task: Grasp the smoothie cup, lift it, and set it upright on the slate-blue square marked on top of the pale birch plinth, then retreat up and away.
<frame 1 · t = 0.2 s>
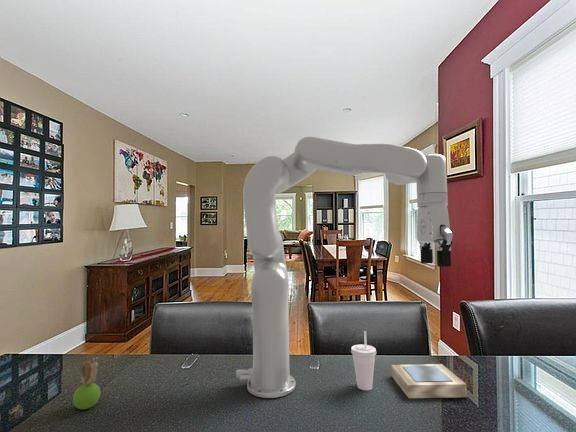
hand: (435, 264, 84), 31 cm above the counter, tool pointing down, fingers open, 9 cm apart
plinth: (426, 385, 81), on the counter
smoothie: (364, 387, 81), on the counter
snail figurine: (87, 409, 72), on the counter
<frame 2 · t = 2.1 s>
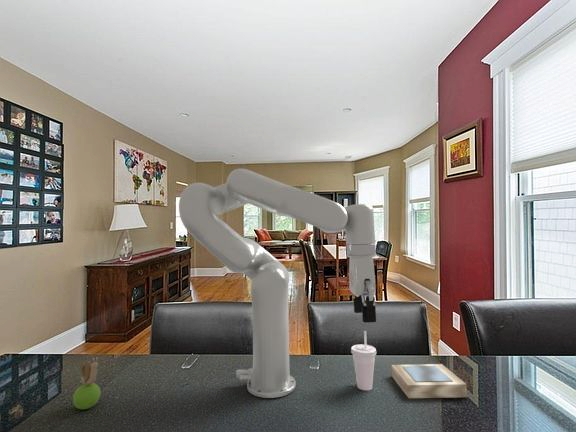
hand: (364, 317, 82), 18 cm above the counter, tool pointing down, fingers open, 9 cm apart
nothing on the counter moved.
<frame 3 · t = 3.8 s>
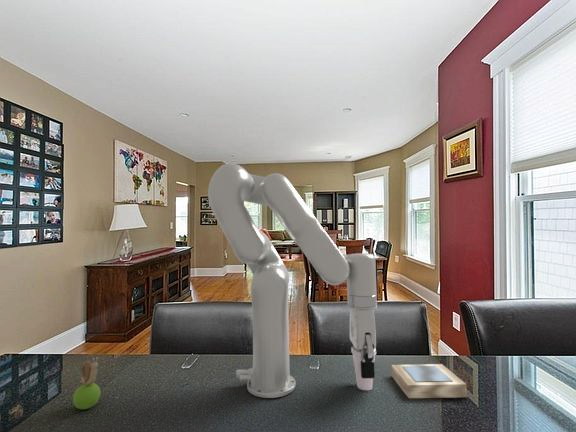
hand: (364, 371, 81), 4 cm above the counter, tool pointing down, fingers closed on smoothie, 6 cm apart
smoothie: (364, 387, 81), on the counter, touching gripper
everything else where it was.
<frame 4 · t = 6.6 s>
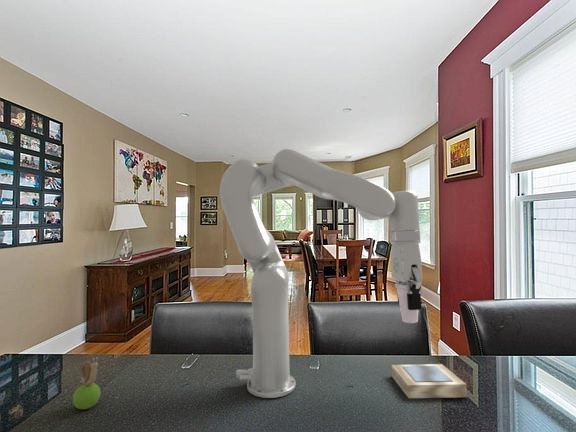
hand: (409, 305, 82), 20 cm above the counter, tool pointing down, fingers closed on smoothie, 6 cm apart
smoothie: (410, 322, 82), point 16 cm above the counter, touching gripper
everything else where it was.
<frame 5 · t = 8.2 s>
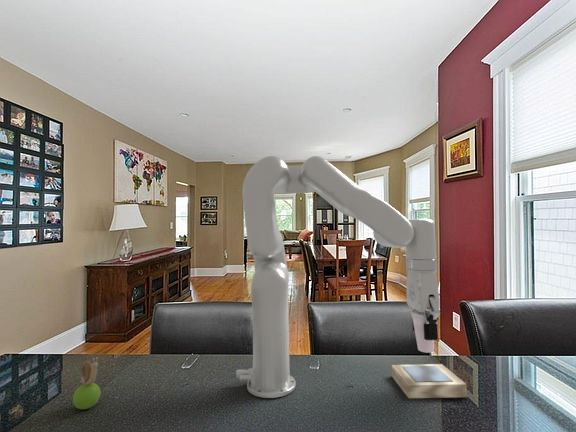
hand: (424, 334, 82), 13 cm above the counter, tool pointing down, fingers closed on smoothie, 6 cm apart
smoothie: (425, 350, 81), point 9 cm above the counter, touching gripper
everything else where it was.
when the fingers open (8 cm above the counter, at t = 9.5 s): smoothie drops 1 cm, resting on plinth.
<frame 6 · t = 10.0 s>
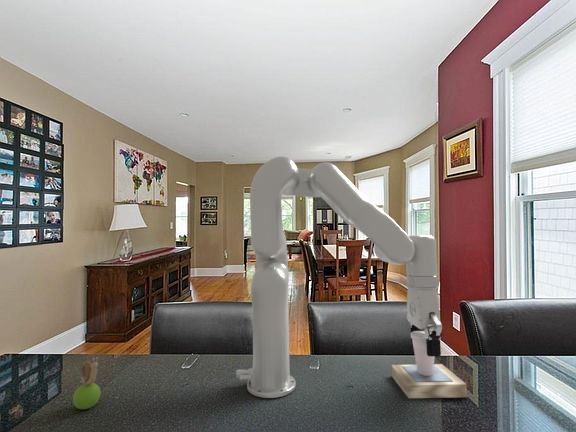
hand: (425, 348, 81), 9 cm above the counter, tool pointing down, fingers open, 9 cm apart
smoothie: (425, 373, 81), point 3 cm above the counter, touching plinth
everything else where it was.
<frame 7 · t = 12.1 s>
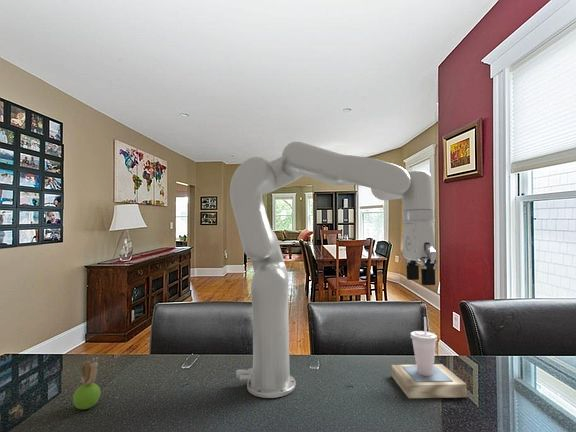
hand: (420, 282, 83), 26 cm above the counter, tool pointing down, fingers open, 9 cm apart
nothing on the counter moved.
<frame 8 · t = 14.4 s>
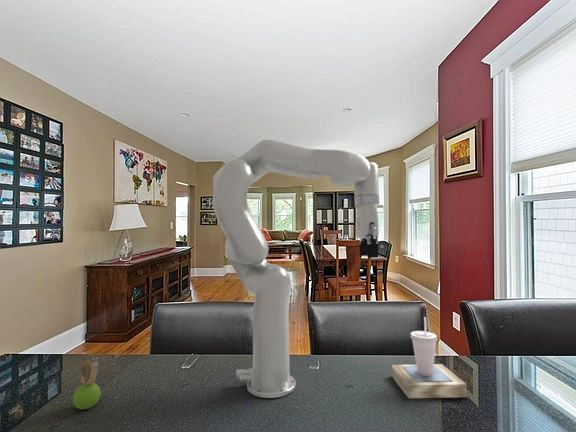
hand: (368, 256, 98), 32 cm above the counter, tool pointing down, fingers open, 9 cm apart
nothing on the counter moved.
at the end: smoothie inside the target area on the plinth (0.2 cm from its centre), point 3.0 cm above the plinth's base; smoothie tilted 0°; the gripper is holding nothing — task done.
